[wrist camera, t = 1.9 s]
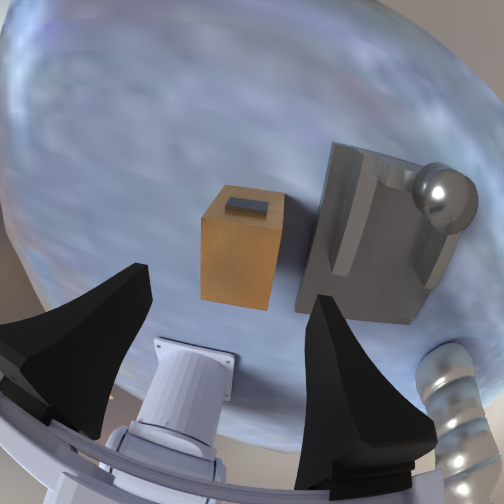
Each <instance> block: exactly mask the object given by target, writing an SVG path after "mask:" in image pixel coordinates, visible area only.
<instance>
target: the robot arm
mask: <svg viewBox="0 0 504 504" xmlns="http://www.w3.org/2000/svg"><path fill="white" fill-rule="evenodd" d="M152 301H153V298H152V292H151V285H150V279H149V271H148V265H145V264H140V263H134V264H132V265H131V266H129V267H127V268H126V269H124V270H122V271H121V272H119V273H118V274H116V275H114V276H113V277H111V278H110V279H108V280H107V281H105V282H103V283H102V284H100V285H99V286H97V287H95V288H94V289H92V290H90V291H88V292H87V293H85V294H83V295H82V296H80V297H78V298H76V299H74V300H72V301H71V302H68V303H66V304H64V305H62V306H60V307H58V308H55V309H53V310H50V311H48V312H45V313H43V314H41V315H38V316H35V317H31V318H28V319H25V320H22V321H17V322H12V323H8V324H3V325H0V370H1V372H2V373H3V374H4V377H3V378H2V379H1V378H0V445H1V447H2V448H3V449H4V450H5V451H6V452H7V453H8V454H9V455H10V456H11V457H12V458H13V459H15V460H16V461H17V462H18V463H19V464H20V465H21V466H22V467H23V468H24V469H25V470H26V471H28V472H29V473H30V474H31V475H32V476H33V477H35V478H36V479H37V480H38V481H39V482H41V483H42V484H43V485H44V486H46V487H47V488H48V491H47V494H46V496H45V499H44V502H43V504H220V503H221V501H227V502H234V503H240V504H445V492H444V481H443V472H442V469H441V468H440V469H436V470H433V471H429V472H425V473H421V474H418V475H415V476H412V477H411V470H414V469H415V460H417V459H418V458H420V457H422V456H423V455H425V454H427V453H428V452H430V451H431V450H433V449H434V448H435V447H436V446H437V444H438V439H437V434H436V429H435V424H434V421H433V420H432V419H431V418H429V417H428V416H427V415H425V414H424V413H423V412H421V411H420V410H419V409H417V408H416V407H415V406H414V405H413V404H411V403H410V402H409V401H408V400H407V399H406V398H405V397H404V396H402V395H401V394H400V393H399V392H398V391H397V390H396V389H395V388H394V387H393V385H392V384H391V383H390V382H389V381H388V380H387V379H386V378H385V377H384V376H383V375H382V373H381V372H380V371H379V370H378V369H377V367H376V366H375V365H374V363H373V362H372V361H371V360H370V358H369V357H368V356H367V354H366V353H365V351H364V350H363V348H362V347H361V345H360V344H359V342H358V341H357V339H356V337H355V336H354V334H353V332H352V331H351V329H350V327H349V326H348V324H347V322H346V321H345V319H344V317H343V315H342V313H341V311H340V310H339V308H338V306H337V304H336V302H335V300H334V299H333V297H332V296H327V295H320V294H317V297H316V300H315V303H314V306H313V309H312V312H311V315H310V318H309V321H308V324H307V327H306V334H305V368H306V389H307V405H306V417H305V427H304V435H303V443H302V450H301V456H300V462H299V467H298V473H297V478H296V482H295V486H294V490H278V489H264V488H255V487H247V486H239V485H233V484H226V476H227V474H226V467H225V465H224V464H223V462H222V460H221V459H220V458H216V457H215V456H216V452H217V450H216V449H214V448H213V444H214V440H215V435H216V431H217V427H218V422H219V418H220V414H221V409H222V405H223V401H230V398H231V390H232V381H233V371H234V362H235V356H234V355H233V354H230V353H225V352H220V351H215V350H210V349H205V348H200V347H196V346H191V345H187V344H183V343H178V342H174V341H170V340H166V339H162V338H158V337H157V338H155V339H154V345H155V349H156V353H157V357H158V361H159V366H158V369H157V371H156V373H155V376H154V378H153V381H152V383H151V385H150V388H149V390H148V393H147V395H146V397H145V400H144V403H143V405H142V407H141V410H140V412H139V415H138V417H137V420H136V422H135V421H132V422H131V425H130V427H129V428H128V427H126V426H121V427H120V428H117V429H115V430H114V431H113V432H112V434H111V435H110V437H109V439H108V441H107V443H106V445H105V446H103V445H101V444H99V443H97V442H95V441H94V440H98V439H99V438H100V435H101V430H102V424H103V419H104V415H105V411H106V407H107V403H108V399H109V396H110V393H111V390H112V387H113V384H114V381H115V378H116V376H117V373H118V371H119V368H120V365H121V363H122V361H123V359H124V357H125V355H126V353H127V351H128V350H129V348H130V346H131V344H132V342H133V341H134V339H135V337H136V335H137V333H138V332H139V330H140V328H141V326H142V324H143V323H144V321H145V319H146V316H147V314H148V312H149V309H150V307H151V304H152ZM71 429H72V430H71ZM77 450H78V451H80V452H81V453H83V454H85V455H87V456H89V457H91V458H93V459H95V460H97V461H99V462H100V464H99V467H98V466H97V465H96V464H94V463H92V462H90V461H88V460H86V459H85V458H83V457H81V456H80V455H78V452H77Z"/></svg>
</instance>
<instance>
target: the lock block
mask: <svg viewBox="0 0 504 504" xmlns="http://www.w3.org/2000/svg"><path fill="white" fill-rule="evenodd" d="M284 197H285V193H279V192H273V191H267V190H260V189H253V188H246V187H238V186H231V185H225V186H224V187H223V188H222V190H221V191H220V193H219V194H218V195H217V197H216V198H215V199H214V201H213V202H212V204H211V205H210V206H209V208H208V209H207V211H206V212H205V213H204V215H203V216H202V218H201V299H202V300H207V301H213V302H218V303H223V304H229V305H235V306H240V307H246V308H252V309H258V310H265V311H267V309H268V304H269V299H270V294H271V288H272V283H273V278H274V273H275V268H276V262H277V257H278V252H279V246H280V241H281V235H282V229H283V214H284Z"/></svg>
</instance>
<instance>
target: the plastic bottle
mask: <svg viewBox="0 0 504 504" xmlns="http://www.w3.org/2000/svg"><path fill="white" fill-rule="evenodd" d="M415 377H416V389H417V391H418V394H419V396H420V399H421V401H422V403H423V404H424V406H425V409H426V412H427V415H428V417H429V418H431V419H432V420H433V421H434V424H435V429H436V434H437V439H438V444H437V446H436V447H435V470H436V469H440V468H441V469H442V472H443V481H444V492H445V504H493V502H492V503H489V500H490V496H491V494H492V492H493V490H494V488H495V486H496V484H497V482H498V479H499V476H500V474H501V469H502V460H501V456H500V455H499V450H498V448H497V445H496V443H495V440H494V438H493V436H492V434H491V431H490V428H489V425H488V422H487V419H486V418H485V413H484V410H483V407H482V403H481V399H480V395H479V390H478V386H477V382H476V379H475V370H474V365H473V361H472V357H471V356H470V354H469V353H468V351H467V350H466V348H465V347H464V346H462V345H460V344H457V343H447V344H444V345H441V346H439V347H437V348H435V349H434V350H432V351H431V352H430V353H428V354H427V355H426V356H425V357H424V358H423V359H422V360H421V362H420V363H419V365H418V368H417V371H416V375H415Z"/></svg>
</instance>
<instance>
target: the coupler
mask: <svg viewBox="0 0 504 504" xmlns="http://www.w3.org/2000/svg"><path fill="white" fill-rule="evenodd" d="M477 207H478V193H477V189H476V187H475V185H474V183H473V182H472V181H471V180H470V179H469V178H468V177H466V176H464V175H463V174H461V173H459V172H458V171H456V170H454V169H452V168H450V167H449V166H447V165H445V164H442V163H431V164H428V165H426V166H425V167H423V166H420V165H417V164H414V163H410V162H407V161H404V160H401V159H398V158H394V157H391V156H387V155H384V154H380V153H377V152H373V151H369V150H365V149H361V148H357V147H353V146H349V145H345V144H340V143H336V142H332V147H331V152H330V158H329V163H328V168H327V173H326V178H325V183H324V187H323V192H322V197H321V201H320V206H319V210H318V215H317V219H316V223H315V228H314V232H313V236H312V240H311V244H310V249H309V253H308V257H307V261H306V264H305V268H304V272H303V276H302V280H301V284H300V287H299V291H298V295H297V298H296V302H295V312H296V313H303V314H311V312H312V309H313V306H314V303H315V300H316V297H317V294H320V295H327V296H332V297H333V299H334V300H335V302H336V304H337V306H338V308H339V310H340V311H341V313H342V315H343V317H344V319H352V320H361V321H371V322H381V323H393V324H405V325H411V323H412V322H413V320H414V318H415V317H416V315H417V313H418V312H419V310H420V308H421V306H422V305H423V303H424V301H425V299H426V298H427V296H428V294H429V292H430V290H431V289H434V290H435V288H436V286H437V285H438V283H439V281H440V279H441V277H442V275H443V273H444V271H445V269H446V267H447V265H448V262H449V260H450V258H451V256H452V254H453V252H454V249H455V247H456V245H457V242H458V240H459V238H460V235H461V233H462V231H463V230H464V229H466V228H467V227H468V226H469V224H470V223H471V222H472V220H473V218H474V217H475V214H476V211H477Z"/></svg>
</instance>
